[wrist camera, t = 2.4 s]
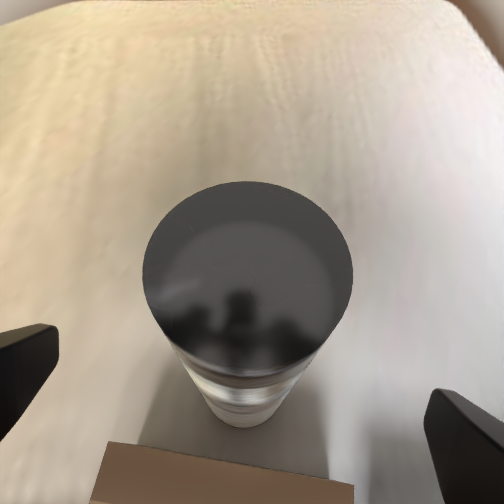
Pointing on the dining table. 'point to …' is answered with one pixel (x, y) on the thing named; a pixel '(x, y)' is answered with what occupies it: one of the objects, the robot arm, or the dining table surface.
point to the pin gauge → (247, 292)
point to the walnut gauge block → (203, 481)
